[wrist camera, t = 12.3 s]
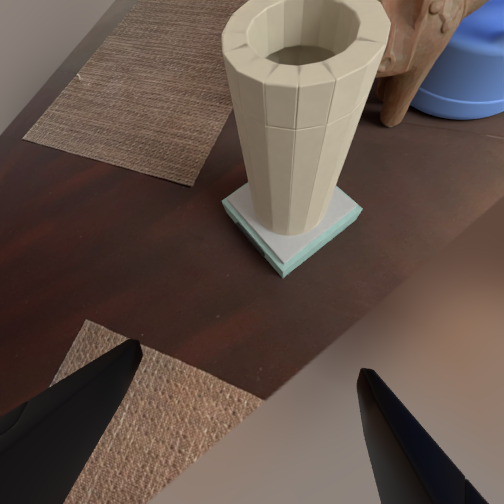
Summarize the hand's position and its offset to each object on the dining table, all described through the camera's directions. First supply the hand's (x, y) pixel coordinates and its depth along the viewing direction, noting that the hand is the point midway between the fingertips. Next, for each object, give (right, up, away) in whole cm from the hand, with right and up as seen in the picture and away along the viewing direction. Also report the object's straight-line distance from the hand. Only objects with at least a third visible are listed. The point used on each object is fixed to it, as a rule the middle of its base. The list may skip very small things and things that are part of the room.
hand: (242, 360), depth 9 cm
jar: (+4, +9, +14) cm, 17 cm away
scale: (+4, +8, +17) cm, 19 cm away
